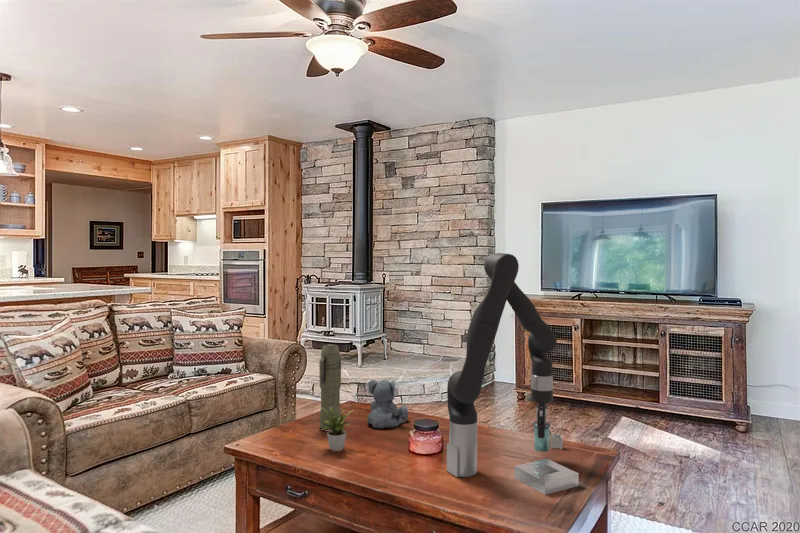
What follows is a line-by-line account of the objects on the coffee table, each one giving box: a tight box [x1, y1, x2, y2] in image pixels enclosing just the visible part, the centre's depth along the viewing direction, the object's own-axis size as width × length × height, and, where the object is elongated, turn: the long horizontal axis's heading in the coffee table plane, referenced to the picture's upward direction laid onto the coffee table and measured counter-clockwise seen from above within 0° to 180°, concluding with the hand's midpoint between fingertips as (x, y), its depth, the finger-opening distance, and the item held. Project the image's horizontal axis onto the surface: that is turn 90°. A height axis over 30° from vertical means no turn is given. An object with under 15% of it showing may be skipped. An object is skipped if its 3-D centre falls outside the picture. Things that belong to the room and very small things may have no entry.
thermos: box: [319, 343, 342, 430], centre depth 225 cm, size 9×12×35 cm
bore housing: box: [514, 458, 580, 496], centre depth 172 cm, size 14×14×4 cm
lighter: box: [549, 429, 564, 450], centre depth 204 cm, size 7×2×8 cm, turn 59°
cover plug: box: [532, 420, 552, 453], centre depth 189 cm, size 6×6×9 cm
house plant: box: [319, 407, 354, 451], centre depth 200 cm, size 14×14×16 cm
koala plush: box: [365, 379, 409, 429], centre depth 231 cm, size 17×18×20 cm
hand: (541, 434), depth 189 cm, fingers closed on cover plug, 6 cm apart
